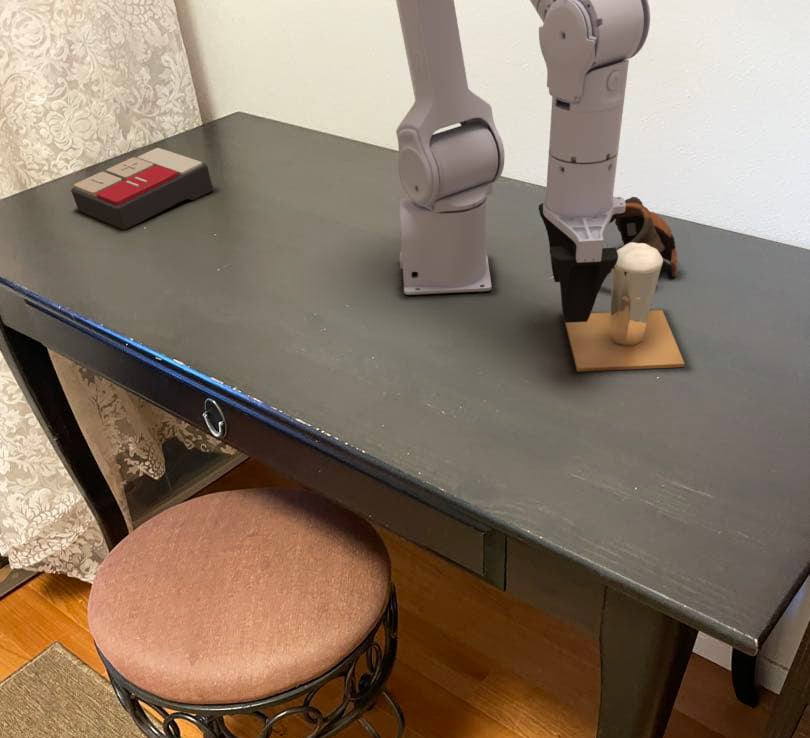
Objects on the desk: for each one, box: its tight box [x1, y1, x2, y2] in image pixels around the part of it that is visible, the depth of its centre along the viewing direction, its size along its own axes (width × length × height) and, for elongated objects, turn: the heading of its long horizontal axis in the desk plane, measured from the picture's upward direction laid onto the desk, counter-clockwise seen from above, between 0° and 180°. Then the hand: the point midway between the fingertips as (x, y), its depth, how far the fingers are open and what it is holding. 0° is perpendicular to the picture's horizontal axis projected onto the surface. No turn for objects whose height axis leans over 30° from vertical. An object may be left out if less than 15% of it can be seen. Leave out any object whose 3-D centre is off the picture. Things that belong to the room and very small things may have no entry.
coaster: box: [563, 309, 685, 372], centre depth 83 cm, size 10×10×1 cm
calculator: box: [70, 147, 214, 231], centre depth 114 cm, size 11×4×15 cm
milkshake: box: [605, 241, 664, 346], centre depth 79 cm, size 4×5×10 cm
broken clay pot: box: [609, 196, 678, 278], centre depth 92 cm, size 12×10×8 cm
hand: (570, 299), depth 80 cm, fingers open, 7 cm apart
